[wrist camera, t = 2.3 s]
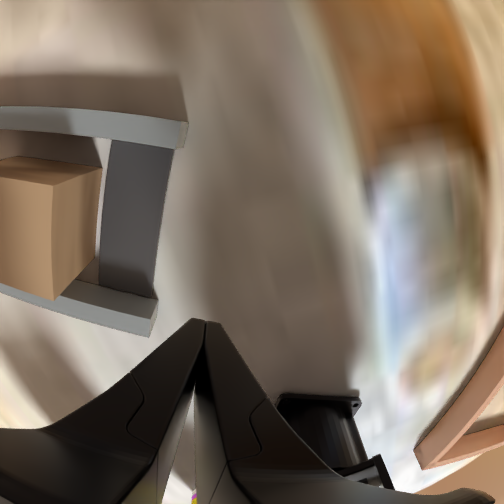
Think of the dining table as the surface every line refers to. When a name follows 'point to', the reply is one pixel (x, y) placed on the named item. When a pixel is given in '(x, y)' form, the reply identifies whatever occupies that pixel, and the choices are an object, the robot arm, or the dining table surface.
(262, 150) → the dining table surface
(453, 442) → the brown rectangular tray
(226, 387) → the robot arm
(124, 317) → the grey u-shaped frame
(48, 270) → the walnut block
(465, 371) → the dining table surface
